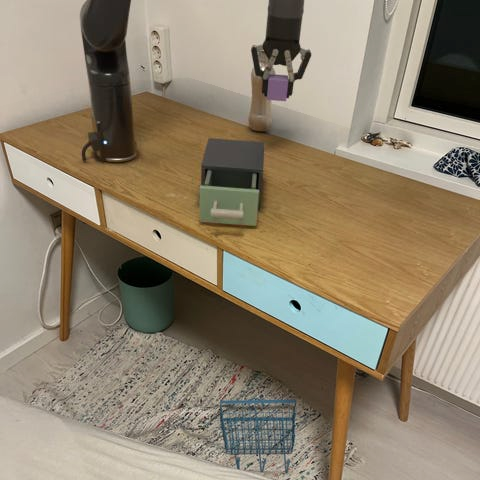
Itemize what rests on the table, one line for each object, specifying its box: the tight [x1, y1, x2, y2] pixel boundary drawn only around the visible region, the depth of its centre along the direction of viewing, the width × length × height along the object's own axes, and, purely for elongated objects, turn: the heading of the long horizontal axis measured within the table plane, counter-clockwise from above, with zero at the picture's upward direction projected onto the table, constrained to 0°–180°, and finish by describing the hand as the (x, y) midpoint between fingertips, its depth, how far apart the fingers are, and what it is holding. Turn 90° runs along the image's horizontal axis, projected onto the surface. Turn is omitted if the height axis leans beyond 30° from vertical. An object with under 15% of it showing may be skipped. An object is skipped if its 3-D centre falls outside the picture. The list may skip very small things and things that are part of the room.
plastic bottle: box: [247, 50, 276, 132], centre depth 137 cm, size 6×7×20 cm
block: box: [267, 73, 289, 102], centre depth 117 cm, size 4×4×4 cm
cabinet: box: [200, 137, 265, 211], centre depth 110 cm, size 15×13×9 cm
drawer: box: [199, 169, 259, 227], centre depth 102 cm, size 18×11×7 cm, turn 177°
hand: (276, 96), depth 119 cm, fingers closed on block, 4 cm apart
